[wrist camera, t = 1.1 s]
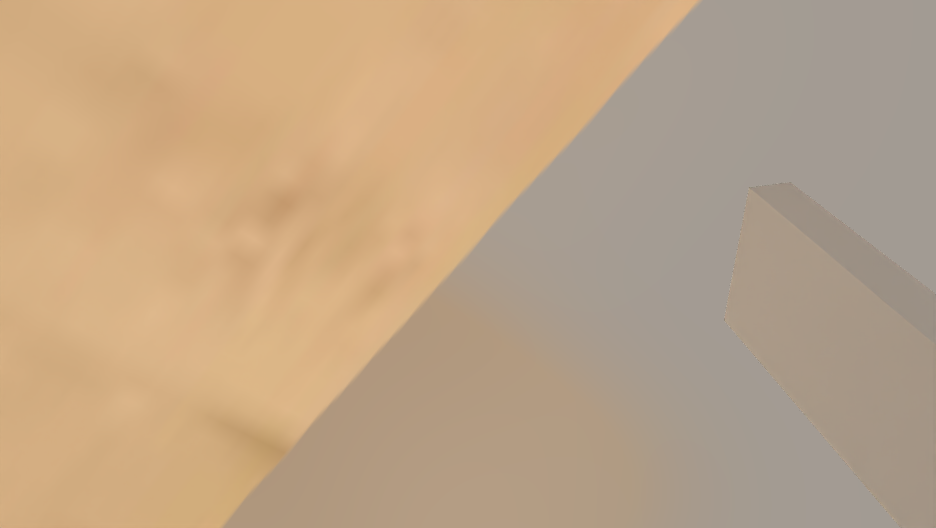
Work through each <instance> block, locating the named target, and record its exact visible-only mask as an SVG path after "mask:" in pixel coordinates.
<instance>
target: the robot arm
mask: <svg viewBox="0 0 936 528" xmlns="http://www.w3.org/2000/svg"><path fill="white" fill-rule="evenodd" d="M724 320H725V322H726V323H727V324H728V325H729V326H730V328H731V329H732V330H733V331H734V332H735V333H736V335H737V336H738V337H739V338H740V339H741V341H742V342H743V343H744V344H745V345H746V346H747V348H748V349H749V350H750V351H751V352H752V353H753V355H754V356H755V357H756V358H757V359H758V361H759V362H760V363H761V364H762V365H763V366H764V368H765V369H766V370H767V371H768V372H769V373H770V375H771V376H772V377H773V378H774V379H775V381H776V382H777V383H778V384H779V385H780V386H781V388H782V389H783V390H784V391H785V392H786V393H787V395H788V396H789V397H790V398H791V399H792V400H793V402H794V403H795V404H796V405H797V406H798V408H799V409H800V410H801V411H802V412H803V413H804V415H805V416H806V417H807V418H808V419H809V421H810V422H811V423H812V424H813V425H814V426H815V428H816V429H817V430H818V431H819V432H820V433H821V435H822V436H823V437H824V438H825V439H826V440H827V442H828V443H829V444H830V445H831V446H832V448H833V449H834V450H835V451H836V452H837V453H838V455H839V456H840V457H841V458H842V459H843V460H844V462H845V463H846V464H847V465H848V466H849V468H850V469H851V470H852V471H853V472H854V473H855V475H856V476H857V477H858V478H859V479H860V480H861V482H862V483H863V484H864V485H865V486H866V487H867V489H868V490H869V491H870V492H871V493H872V495H873V496H874V497H875V498H876V499H877V500H878V502H879V503H880V504H881V505H882V506H883V507H884V509H885V510H886V511H887V512H888V513H889V514H890V516H891V517H892V518H893V519H894V520H895V521H896V523H897V524H898V525H899V526H900V527H901V528H936V294H935V293H934V292H932V291H931V290H930V289H928V288H927V287H926V286H925V285H923V284H922V283H921V282H919V281H918V280H917V279H916V278H914V277H913V276H912V275H910V274H909V273H907V272H906V271H905V270H904V269H902V268H901V267H900V266H898V265H897V264H896V263H895V262H893V261H892V260H891V259H889V258H888V257H887V256H886V255H884V254H883V253H882V252H880V251H879V250H878V249H876V248H875V247H874V246H873V245H871V244H870V243H869V242H867V241H866V240H865V239H863V238H862V237H861V236H860V235H858V234H857V233H856V232H854V231H853V230H852V229H850V228H849V227H848V226H847V225H845V224H844V223H843V222H841V221H840V220H839V219H837V218H836V217H835V216H833V215H832V214H831V213H830V212H828V211H827V210H826V209H824V208H823V207H822V206H821V205H819V204H818V203H817V202H815V201H814V200H813V199H811V198H810V197H809V196H808V195H806V194H805V193H803V192H802V191H801V190H800V189H798V188H797V187H796V186H795V185H793V184H792V183H791V182H789V183H780V184H772V185H765V186H756V187H749V191H748V196H747V201H746V207H745V213H744V217H743V223H742V228H741V233H740V238H739V244H738V249H737V255H736V260H735V266H734V270H733V276H732V281H731V286H730V291H729V297H728V302H727V307H726V313H725V318H724Z"/></svg>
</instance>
